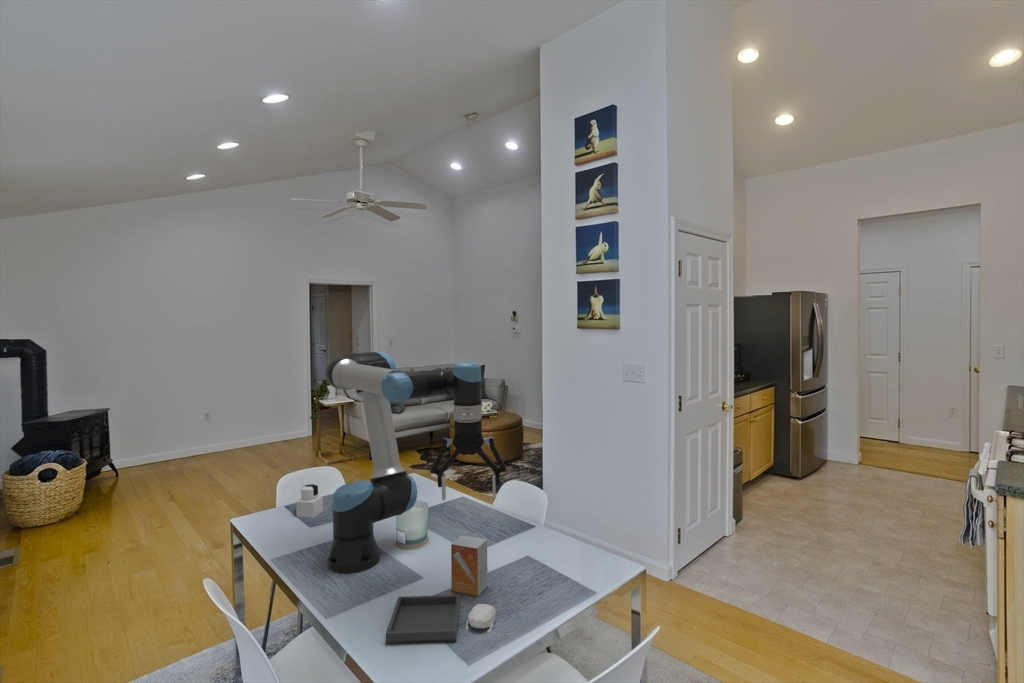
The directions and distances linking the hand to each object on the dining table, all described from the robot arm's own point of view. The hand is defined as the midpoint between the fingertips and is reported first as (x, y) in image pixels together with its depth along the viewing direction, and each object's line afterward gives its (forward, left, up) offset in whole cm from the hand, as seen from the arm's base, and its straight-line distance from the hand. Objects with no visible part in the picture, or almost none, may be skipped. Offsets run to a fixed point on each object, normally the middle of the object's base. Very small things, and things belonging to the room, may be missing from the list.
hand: (469, 498), depth 136 cm
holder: (-10, -16, -25) cm, 31 cm away
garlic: (+3, -17, -25) cm, 30 cm away
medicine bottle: (-64, +58, -25) cm, 89 cm away
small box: (0, 0, -25) cm, 25 cm away
